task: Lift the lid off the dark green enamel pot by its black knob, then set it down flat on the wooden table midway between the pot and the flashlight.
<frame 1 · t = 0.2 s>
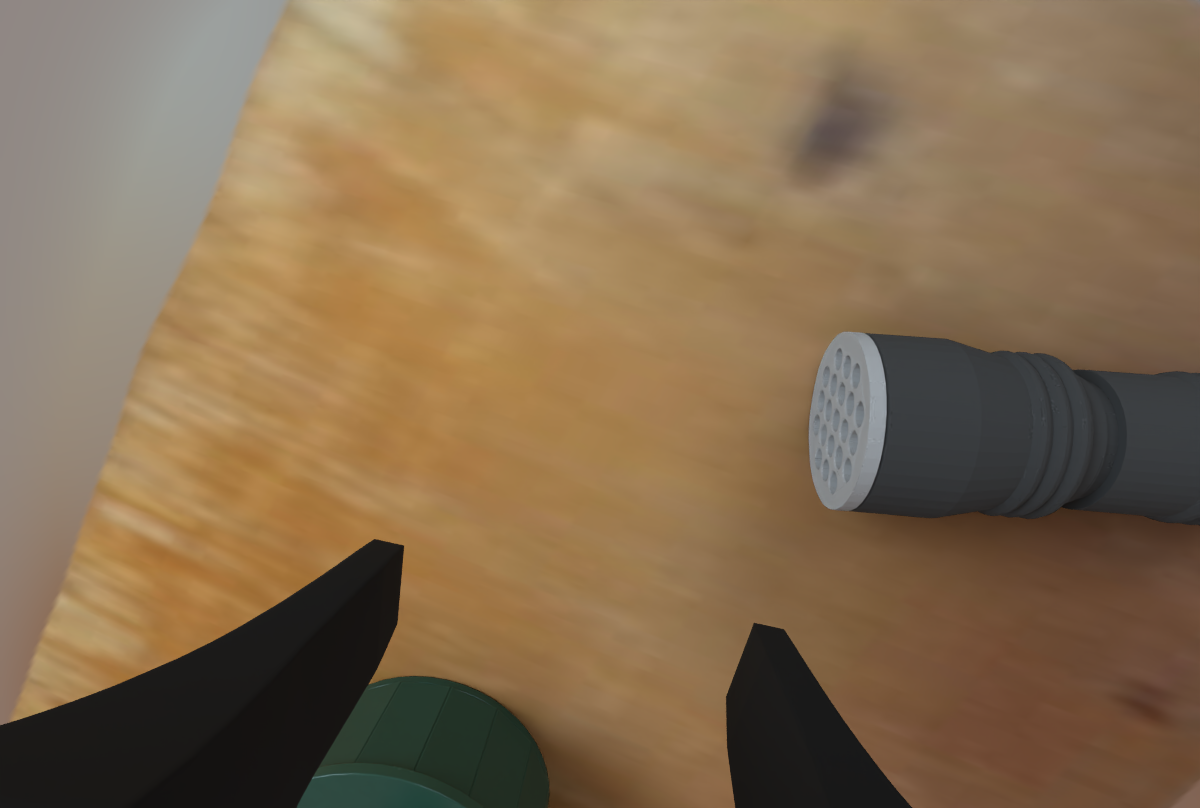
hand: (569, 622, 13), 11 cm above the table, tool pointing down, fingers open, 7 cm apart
pot: (429, 780, 27), on the table
flashlight: (1024, 417, 22), on the table
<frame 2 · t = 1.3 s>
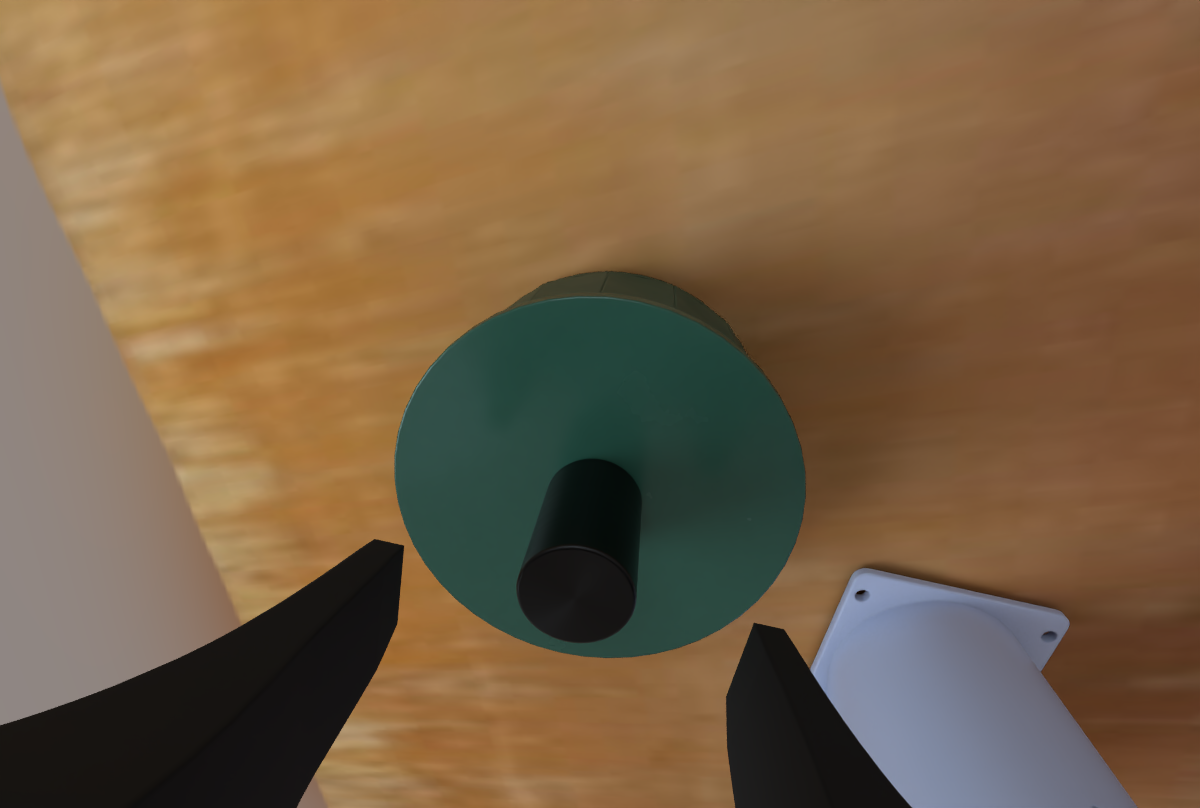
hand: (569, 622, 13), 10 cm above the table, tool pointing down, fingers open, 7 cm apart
pot: (609, 419, 22), on the table
lid: (596, 490, 18), point 5 cm above the table, touching pot
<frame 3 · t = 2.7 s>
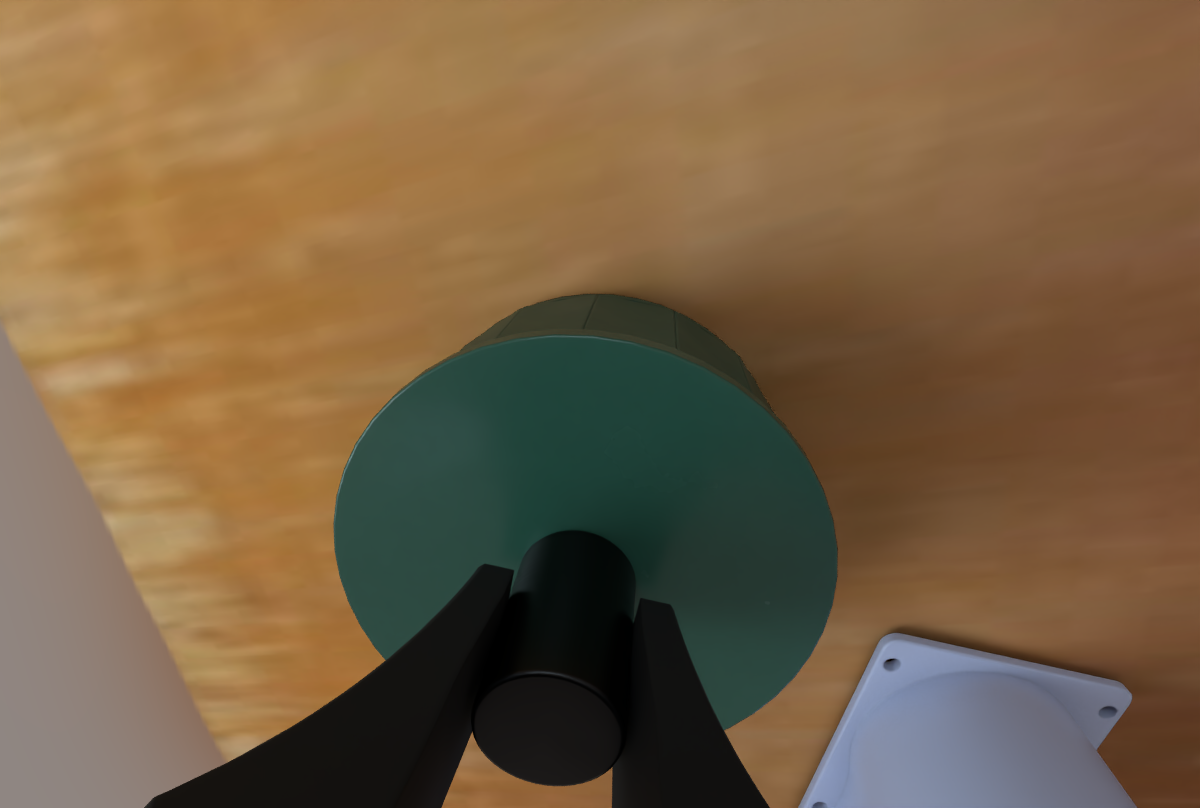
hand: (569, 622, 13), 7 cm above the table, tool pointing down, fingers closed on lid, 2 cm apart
pot: (599, 464, 19), on the table
lid: (580, 564, 14), point 5 cm above the table, touching gripper, pot
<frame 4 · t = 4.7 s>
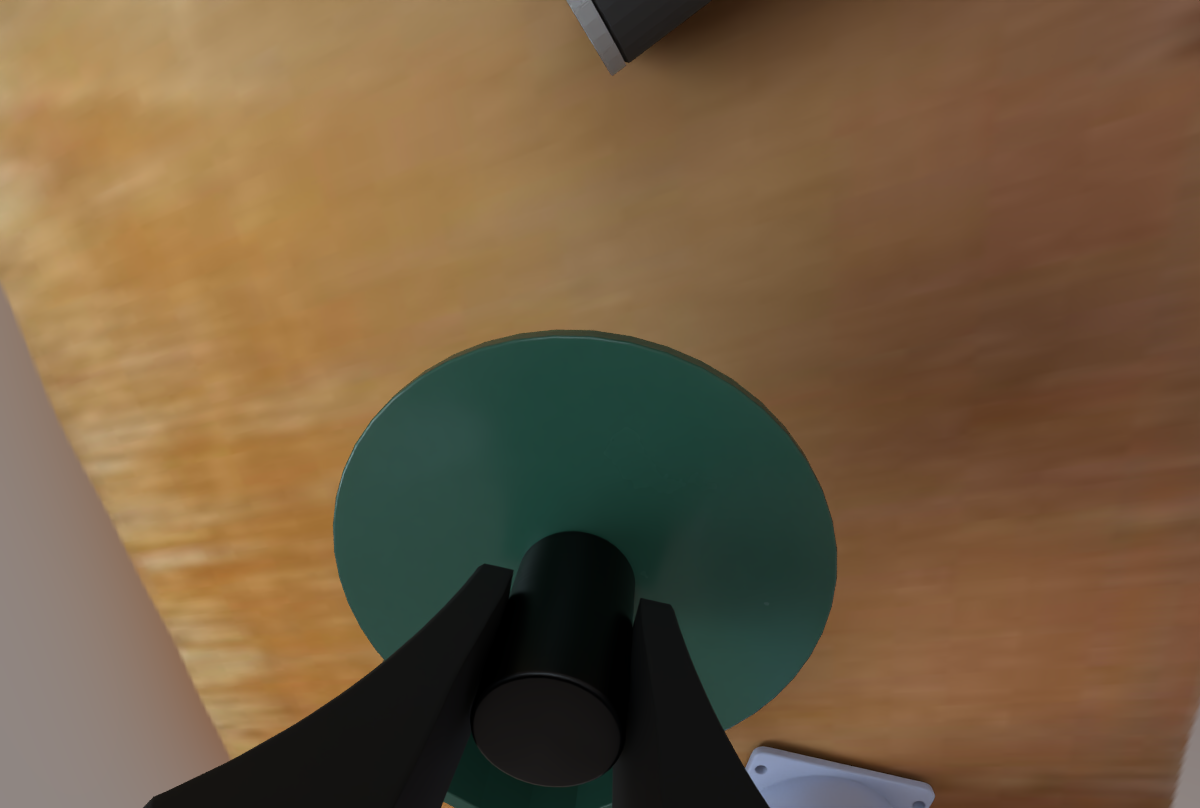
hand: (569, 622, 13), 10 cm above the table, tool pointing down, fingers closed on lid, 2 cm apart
pot: (545, 628, 26), on the table
lid: (579, 565, 14), point 9 cm above the table, touching gripper
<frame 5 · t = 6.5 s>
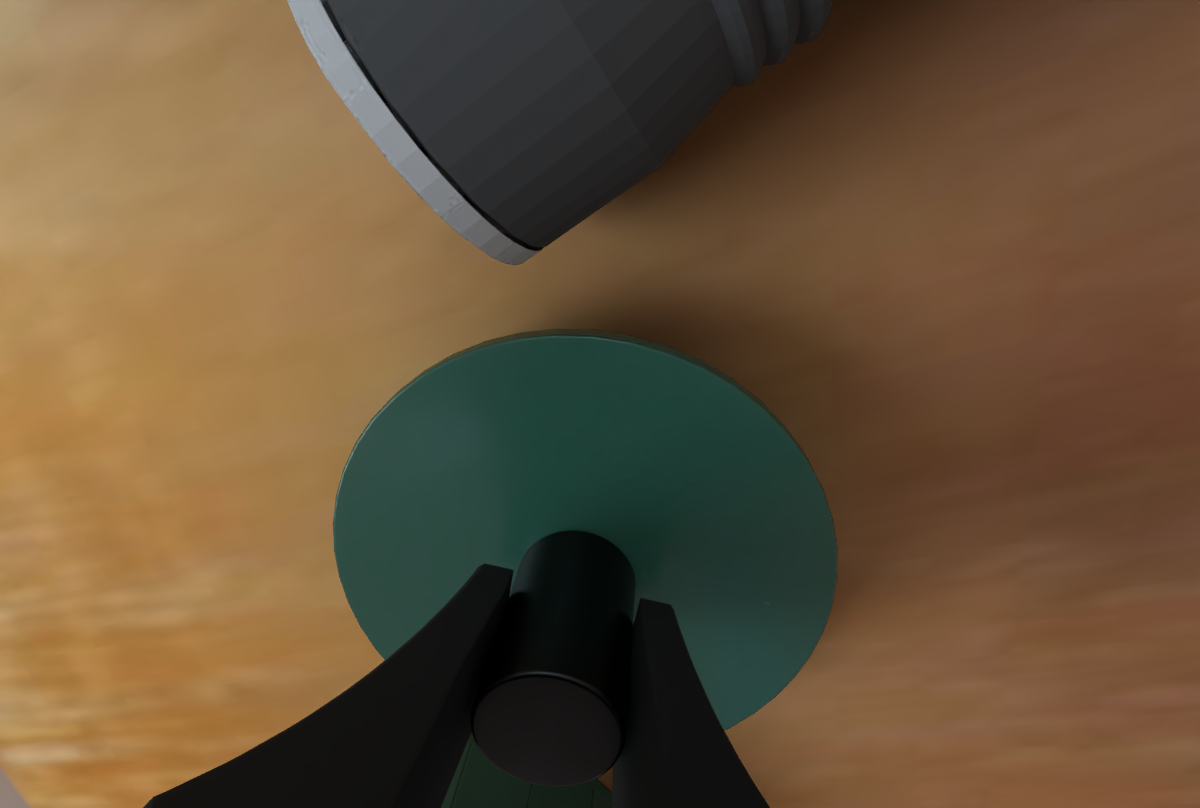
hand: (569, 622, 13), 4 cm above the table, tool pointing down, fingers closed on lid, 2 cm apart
lid: (579, 564, 14), point 2 cm above the table, touching gripper
when the fingers open (2 cm above the table, at t = 7.2 s): lid stays where it is, point 1 cm above the table.
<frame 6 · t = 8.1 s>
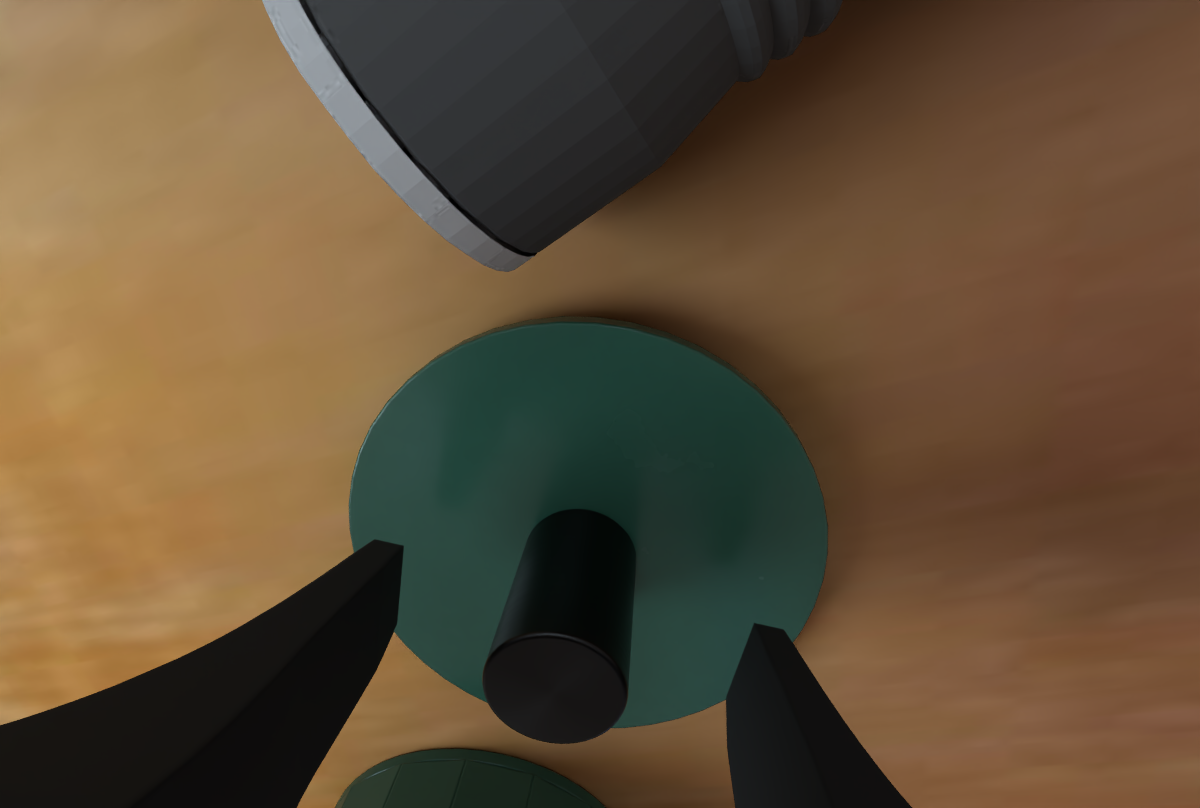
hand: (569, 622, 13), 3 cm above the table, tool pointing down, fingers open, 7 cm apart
lid: (583, 542, 15), point 1 cm above the table
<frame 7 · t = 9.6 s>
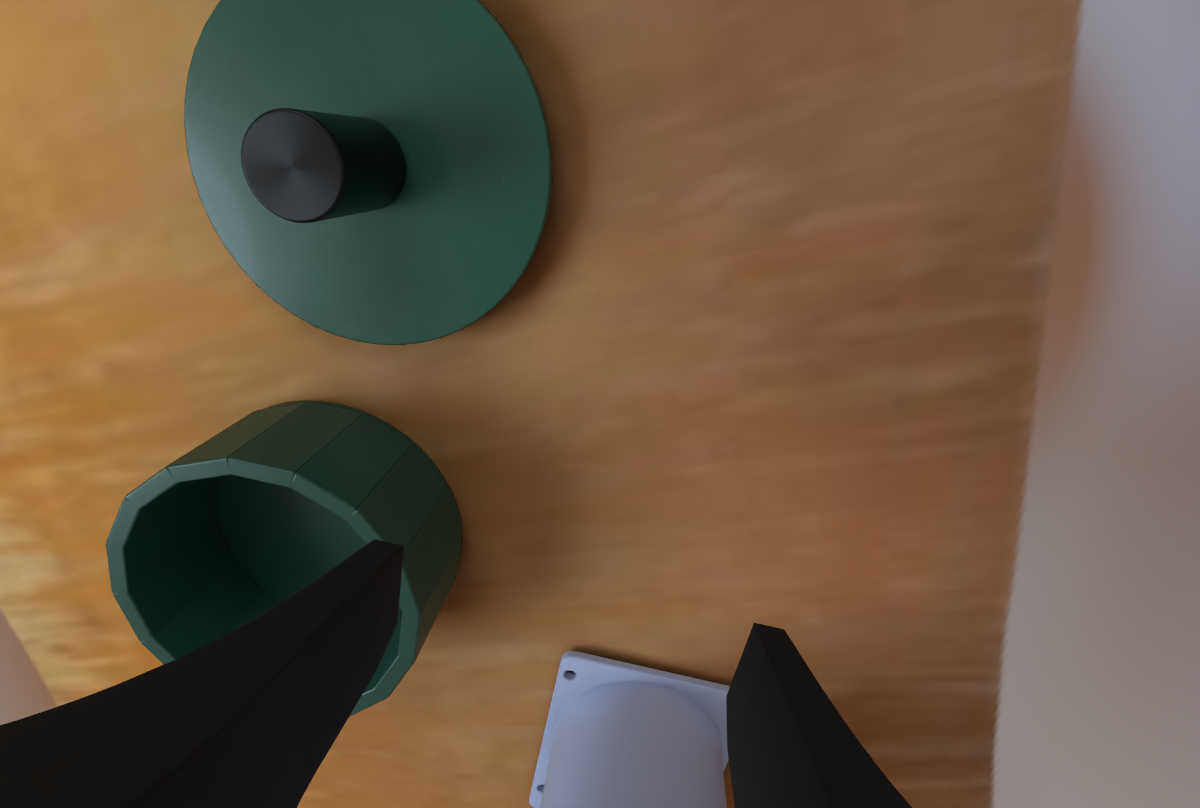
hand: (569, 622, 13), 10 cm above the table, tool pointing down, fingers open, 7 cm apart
pot: (334, 521, 25), on the table
lid: (372, 164, 19), point 1 cm above the table
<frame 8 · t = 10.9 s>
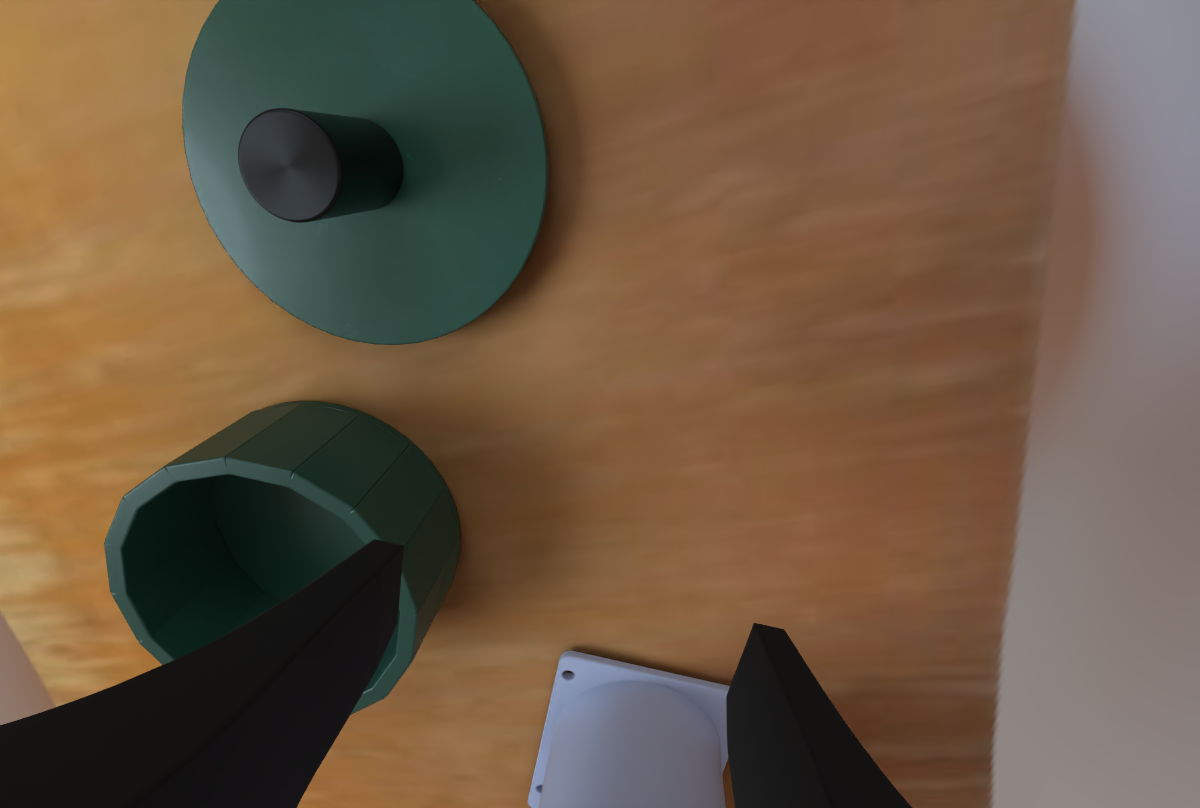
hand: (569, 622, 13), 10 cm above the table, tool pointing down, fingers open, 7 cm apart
pot: (333, 522, 25), on the table
lid: (369, 165, 19), point 1 cm above the table
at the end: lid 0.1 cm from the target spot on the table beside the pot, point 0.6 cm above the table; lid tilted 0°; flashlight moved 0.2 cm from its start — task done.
